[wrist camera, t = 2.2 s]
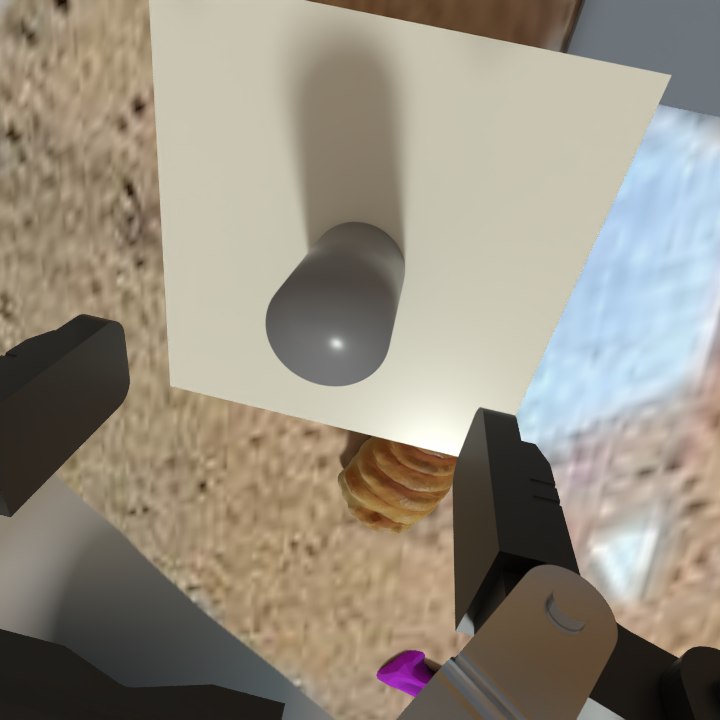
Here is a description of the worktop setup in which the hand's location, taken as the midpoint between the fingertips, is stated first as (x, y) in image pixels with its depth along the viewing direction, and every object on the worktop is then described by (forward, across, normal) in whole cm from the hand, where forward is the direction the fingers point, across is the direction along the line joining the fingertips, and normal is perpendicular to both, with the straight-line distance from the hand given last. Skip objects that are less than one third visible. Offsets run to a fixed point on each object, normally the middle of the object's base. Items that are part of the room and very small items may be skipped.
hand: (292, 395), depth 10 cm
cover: (+9, 0, 0) cm, 9 cm away
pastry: (+16, -5, +16) cm, 23 cm away
